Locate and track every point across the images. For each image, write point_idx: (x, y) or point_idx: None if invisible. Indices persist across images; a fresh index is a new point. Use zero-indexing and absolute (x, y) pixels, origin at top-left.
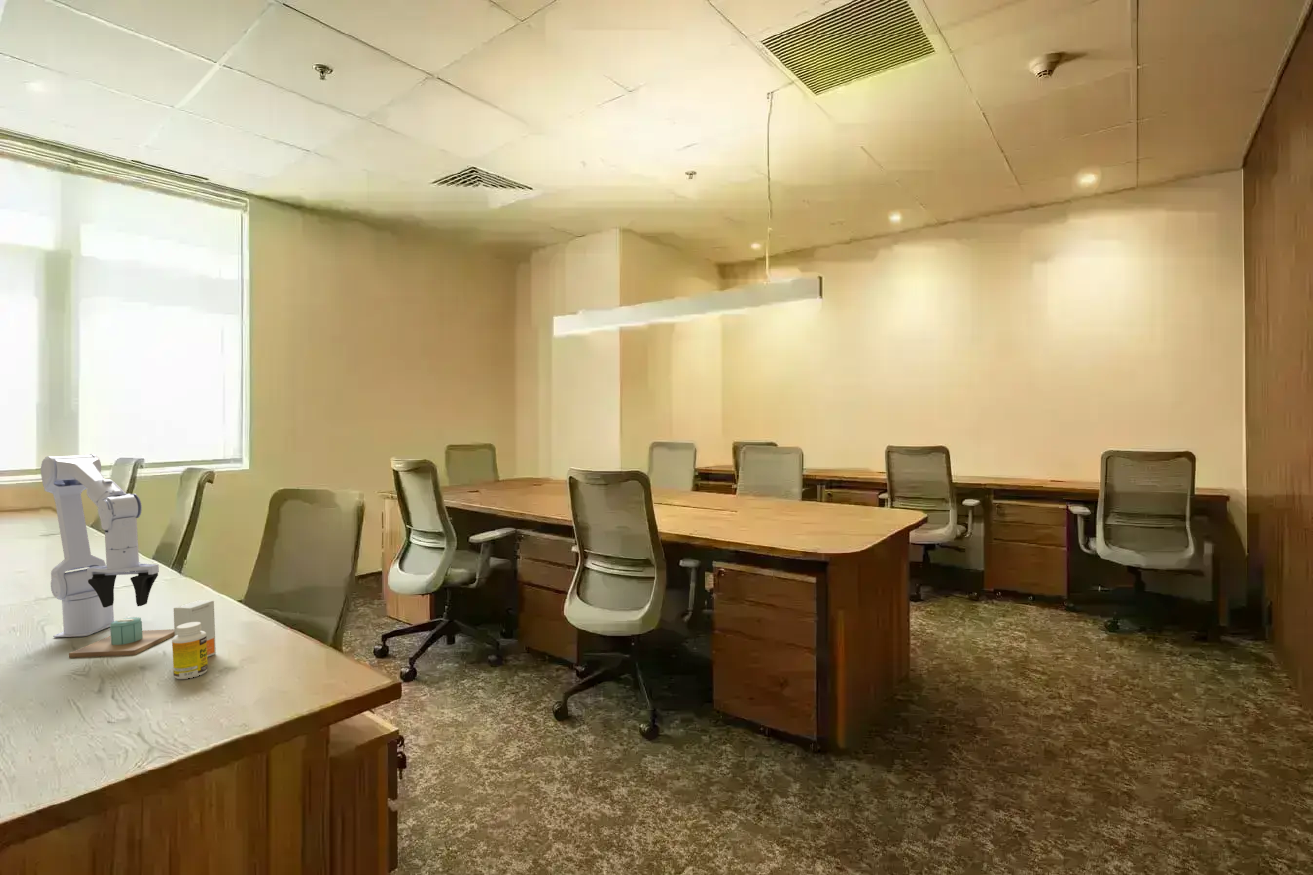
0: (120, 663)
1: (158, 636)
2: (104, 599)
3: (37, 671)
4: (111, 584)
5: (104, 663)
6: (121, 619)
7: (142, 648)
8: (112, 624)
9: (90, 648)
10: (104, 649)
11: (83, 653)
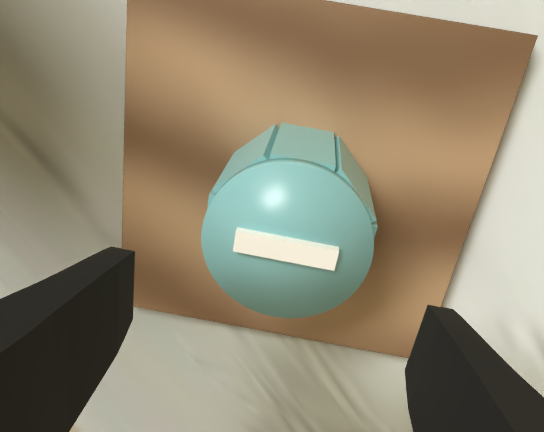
0: (406, 422)
1: (449, 169)
2: (100, 377)
3: (126, 404)
4: (9, 395)
5: (338, 403)
6: (247, 235)
7: None
8: (240, 300)
9: (177, 266)
10: None
11: (187, 313)
